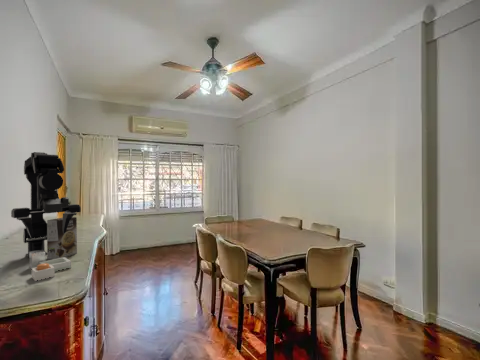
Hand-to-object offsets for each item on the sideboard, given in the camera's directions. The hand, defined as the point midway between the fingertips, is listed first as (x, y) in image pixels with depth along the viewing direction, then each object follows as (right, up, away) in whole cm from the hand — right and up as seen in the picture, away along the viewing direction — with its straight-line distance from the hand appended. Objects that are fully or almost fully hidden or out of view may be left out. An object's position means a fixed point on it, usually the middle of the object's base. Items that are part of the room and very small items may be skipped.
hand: (48, 235), depth 90 cm
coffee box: (-9, -13, +21) cm, 27 cm away
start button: (+1, -11, -3) cm, 12 cm away
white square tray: (-1, -13, +5) cm, 14 cm away
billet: (-9, -13, +7) cm, 17 cm away
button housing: (+1, -13, -3) cm, 14 cm away
